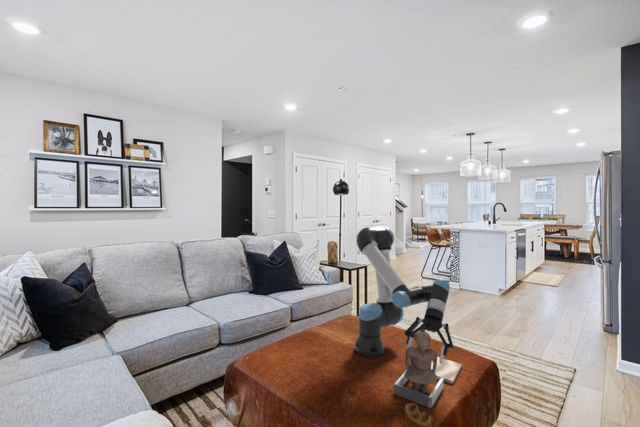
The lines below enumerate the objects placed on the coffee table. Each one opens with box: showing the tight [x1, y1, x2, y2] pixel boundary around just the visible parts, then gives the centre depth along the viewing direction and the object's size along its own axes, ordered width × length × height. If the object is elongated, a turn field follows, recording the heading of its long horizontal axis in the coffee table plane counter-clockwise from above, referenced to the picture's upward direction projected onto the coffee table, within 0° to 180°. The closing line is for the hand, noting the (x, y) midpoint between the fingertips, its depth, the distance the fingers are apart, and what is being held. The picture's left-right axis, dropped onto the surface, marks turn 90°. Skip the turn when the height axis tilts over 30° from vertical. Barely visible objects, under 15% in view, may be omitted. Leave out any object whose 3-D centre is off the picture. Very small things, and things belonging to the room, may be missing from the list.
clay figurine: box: [403, 330, 438, 394], centre depth 132 cm, size 13×10×25 cm
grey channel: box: [393, 369, 445, 409], centre depth 132 cm, size 15×17×4 cm
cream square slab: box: [431, 356, 463, 385], centre depth 149 cm, size 16×18×2 cm
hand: (423, 357), depth 132 cm, fingers open, 13 cm apart
